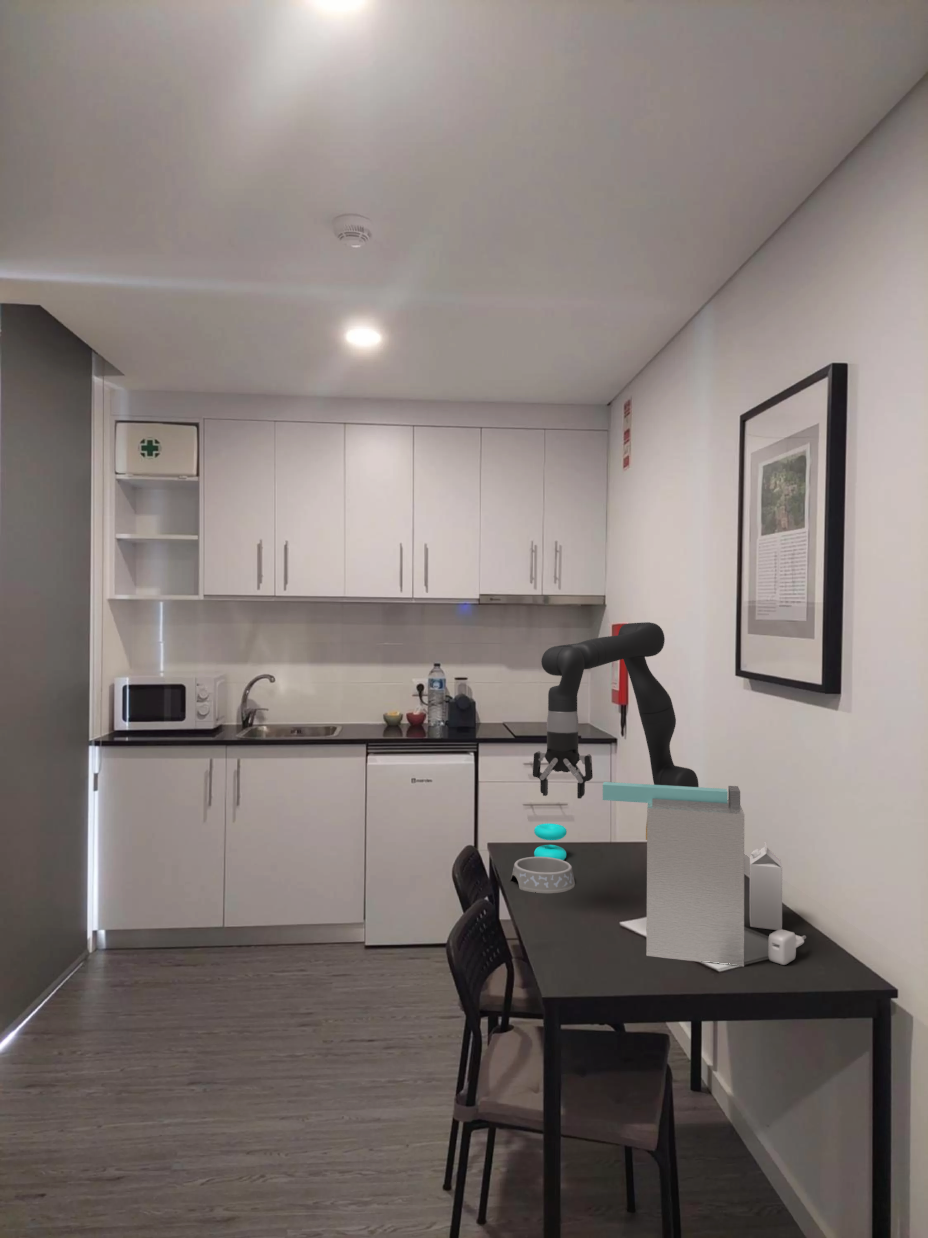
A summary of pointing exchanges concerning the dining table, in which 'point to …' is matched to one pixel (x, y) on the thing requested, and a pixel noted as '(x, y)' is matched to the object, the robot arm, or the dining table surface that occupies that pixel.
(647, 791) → the teal tapered block
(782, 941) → the power adapter
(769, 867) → the milk carton
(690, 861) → the tall grey box
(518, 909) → the dining table surface
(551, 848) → the donuts
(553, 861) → the dog bowl
